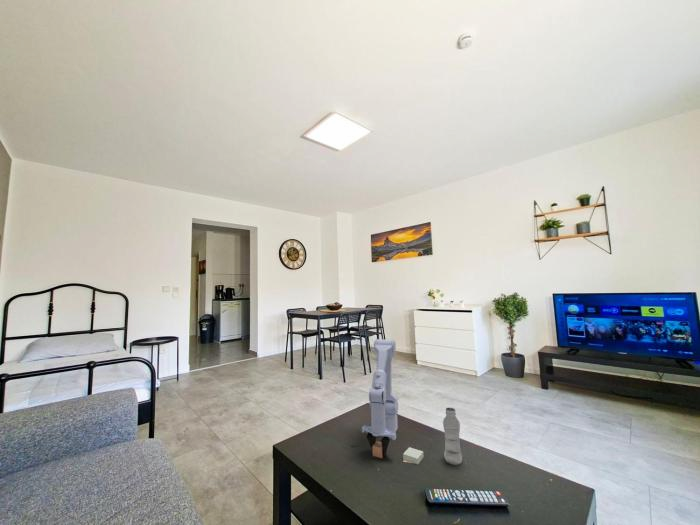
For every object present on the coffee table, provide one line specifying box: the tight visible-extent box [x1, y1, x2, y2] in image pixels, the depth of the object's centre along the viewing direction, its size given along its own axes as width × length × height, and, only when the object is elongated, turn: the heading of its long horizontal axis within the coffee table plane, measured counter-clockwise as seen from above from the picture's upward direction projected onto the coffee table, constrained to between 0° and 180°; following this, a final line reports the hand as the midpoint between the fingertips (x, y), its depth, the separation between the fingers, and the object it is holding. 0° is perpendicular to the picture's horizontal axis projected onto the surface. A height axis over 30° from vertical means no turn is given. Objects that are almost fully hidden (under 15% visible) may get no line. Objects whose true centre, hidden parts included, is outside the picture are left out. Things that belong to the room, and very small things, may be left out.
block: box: [372, 440, 384, 459], centre depth 113 cm, size 4×4×5 cm
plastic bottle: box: [442, 407, 463, 466], centre depth 109 cm, size 6×7×20 cm
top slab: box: [402, 446, 425, 465], centre depth 110 cm, size 6×6×2 cm
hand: (379, 454), depth 113 cm, fingers closed on block, 4 cm apart
